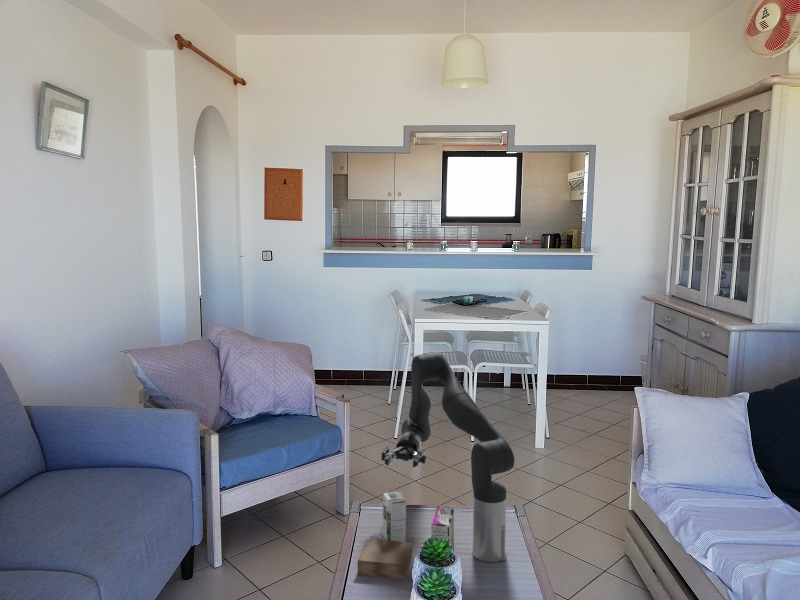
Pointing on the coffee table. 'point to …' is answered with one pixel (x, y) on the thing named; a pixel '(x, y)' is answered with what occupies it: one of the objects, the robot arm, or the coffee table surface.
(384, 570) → the walnut riser
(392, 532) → the syrup box
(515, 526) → the coffee table surface
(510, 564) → the coffee table surface
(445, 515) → the candy bar box
